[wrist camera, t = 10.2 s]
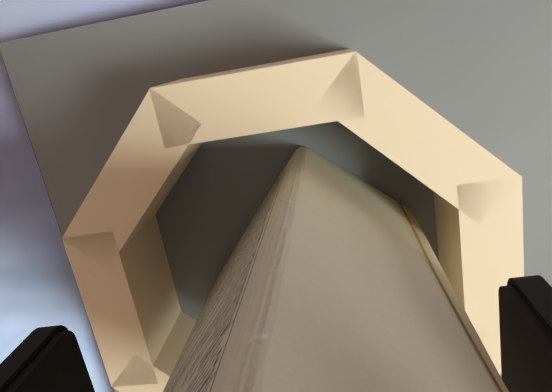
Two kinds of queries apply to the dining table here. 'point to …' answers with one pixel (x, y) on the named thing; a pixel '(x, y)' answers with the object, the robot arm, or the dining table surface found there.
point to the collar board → (284, 145)
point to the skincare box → (332, 299)
